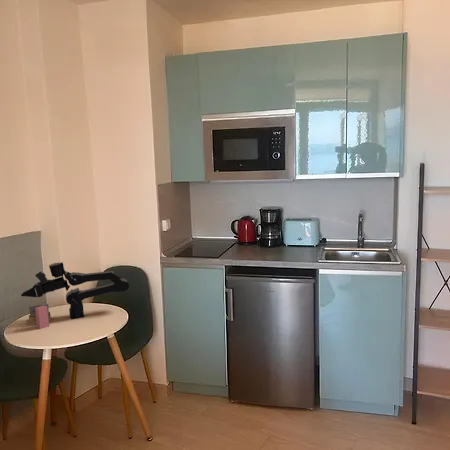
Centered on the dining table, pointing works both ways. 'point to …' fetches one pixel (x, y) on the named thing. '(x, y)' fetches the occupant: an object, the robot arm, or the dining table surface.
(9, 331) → the dining table surface
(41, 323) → the red rectangular block
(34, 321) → the rack
